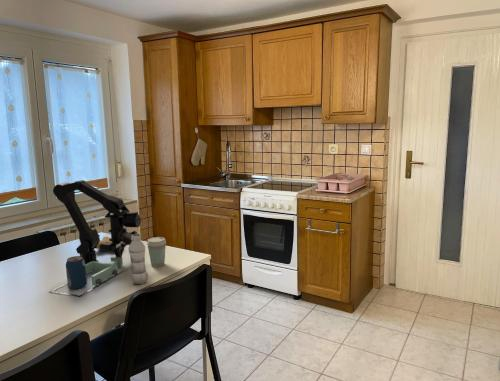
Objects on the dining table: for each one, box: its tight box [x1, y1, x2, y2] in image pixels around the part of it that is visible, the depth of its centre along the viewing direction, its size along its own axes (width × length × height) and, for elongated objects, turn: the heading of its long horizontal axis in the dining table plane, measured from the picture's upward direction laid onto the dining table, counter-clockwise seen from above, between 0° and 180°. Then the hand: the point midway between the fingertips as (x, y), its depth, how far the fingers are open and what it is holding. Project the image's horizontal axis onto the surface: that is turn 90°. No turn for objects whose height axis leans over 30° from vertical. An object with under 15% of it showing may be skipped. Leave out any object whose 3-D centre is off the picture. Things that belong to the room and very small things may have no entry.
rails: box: [49, 268, 128, 298], centre depth 162 cm, size 15×29×1 cm, turn 161°
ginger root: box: [95, 236, 112, 251], centre depth 201 cm, size 16×16×8 cm
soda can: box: [65, 255, 88, 291], centre depth 154 cm, size 7×7×12 cm
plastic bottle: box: [128, 233, 148, 285], centre depth 157 cm, size 6×7×20 cm
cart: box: [85, 255, 124, 287], centre depth 167 cm, size 15×23×4 cm, turn 161°
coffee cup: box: [146, 236, 167, 268], centre depth 177 cm, size 8×8×12 cm
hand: (119, 259), depth 179 cm, fingers closed
